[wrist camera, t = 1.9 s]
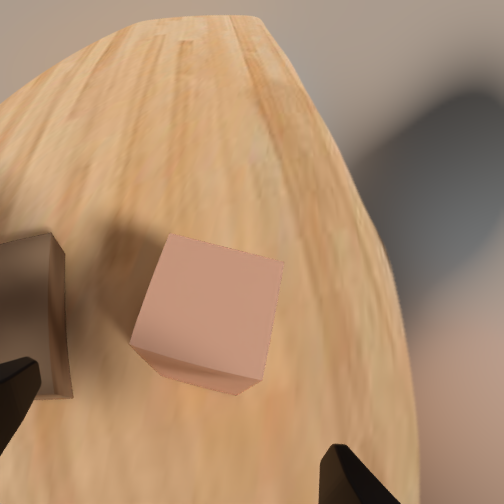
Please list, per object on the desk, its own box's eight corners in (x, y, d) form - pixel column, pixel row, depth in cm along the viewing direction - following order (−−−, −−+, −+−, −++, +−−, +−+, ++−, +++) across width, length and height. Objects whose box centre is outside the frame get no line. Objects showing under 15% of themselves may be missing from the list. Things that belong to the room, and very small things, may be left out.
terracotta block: (236, 395, 18) (262, 380, 10) (160, 375, 18) (128, 344, 10) (252, 324, 21) (284, 262, 13) (180, 306, 21) (169, 233, 13)
